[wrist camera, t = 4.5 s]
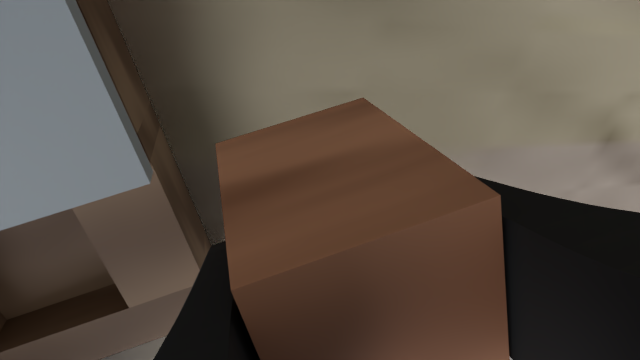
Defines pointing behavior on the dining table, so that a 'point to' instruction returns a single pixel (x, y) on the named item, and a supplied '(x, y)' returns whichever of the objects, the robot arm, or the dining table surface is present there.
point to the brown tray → (104, 246)
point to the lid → (59, 116)
